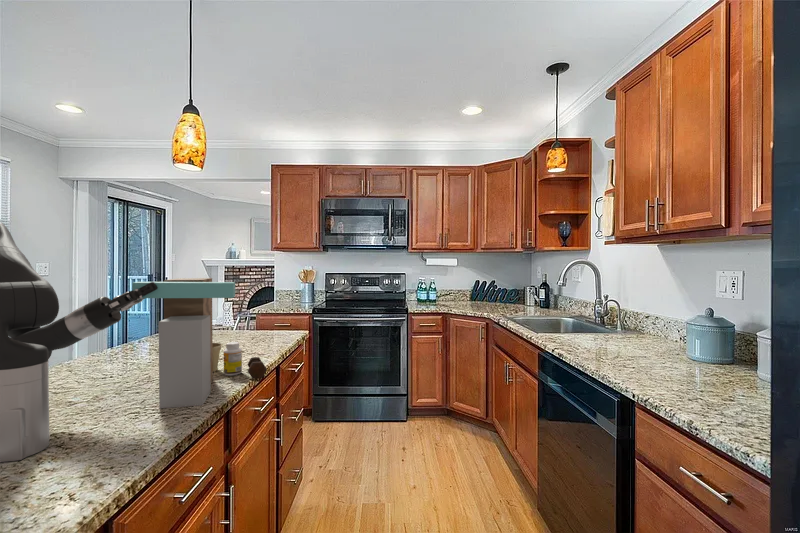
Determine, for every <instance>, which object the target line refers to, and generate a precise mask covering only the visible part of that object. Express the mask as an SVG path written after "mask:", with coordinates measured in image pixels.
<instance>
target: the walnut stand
mask: <svg viewBox="0 0 800 533" xmlns="http://www.w3.org/2000/svg"><path fill="white" fill-rule="evenodd" d="M163 282H213V278H212V277H191V278H190V277H184V278H183V277H182V278H181V277H180V278H179V277H178V278H170V279H164V280H163ZM203 315H210V371H211V383H212V381H213V376H214V374H213V373H214V372H213V347H212V343H213V298H163V318H164V319H166V318H169V317H171V316H203ZM164 319H163V320H164Z"/></svg>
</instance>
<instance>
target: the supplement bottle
mask: <svg viewBox="0 0 800 533" xmlns="http://www.w3.org/2000/svg"><path fill="white" fill-rule="evenodd" d="M225 345H226V346H225V349H224V350H223V374H224V375H225V376H231V377H233V376H238V375H240V374H241V373H242V372H243V369H242V368H243V359H242V358H243V355H242V353H243V350H242V348H241V347H240V342H238V341H231V342H226V343H225Z"/></svg>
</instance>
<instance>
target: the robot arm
mask: <svg viewBox="0 0 800 533" xmlns="http://www.w3.org/2000/svg"><path fill="white" fill-rule="evenodd" d="M150 282H151V283H149V284H147V285H145V286H143V287H141V288H139V289H135V290H134V291H133V290H129V291H126V292H124V293H122V294H121V295H117V296H115V297H113V298H112V299H111V298H109V297H107V296H101V297H100V296H99V297H98V298H96V299H95V300H92V301H90V302H89V303H86V304H84V305H83V306H80V307H78V308H76V309H74V310H73V311H71V312H70V313H69V314H67V315H64V316H62V317H60V318H58V319H57V320H56V318H57V317H58V315H59V311H60V304H59V303H60V302H59V298H58V295H57V293H56V290H55V289H54V287H53V286H52V285H51V283H50V282H49V281H48V280H46V278H44V277H43V276H41V275H40V274H39V273H37V271H36V270H35V269H34V268H33V266H32V264H31V263H30V261H29V259H28V258H27V257H26V255H25V254H24V253H23V252H22V251H21V250H20V248H19V247H18V246H17V244H16V242H15V240H14V238H13V235H12V234H11V232H10V230H9V229H8V227H7V226H6V225H5V224H4V223H3V222H1V221H0V463H3V462H15V461H16V462H17V461H21V460H24V459H26V458H27V457H29V456H33V455H35V454H37V453H39V452H42V451H44V450H46V449H47V448H48V447H49V446H50V441H51V440H50V392H49V390H50V386H49V385H50V384H49V383H50V382H49V381H50V380H49V379H50V378H49V377H50V375H49V374H50V373H49V360H50V359H51V356H52V354H53V351H56V350H61V349H65V348H68V347H71V346H72V345H75V344H76V343H78V342H80V341H81V340H84V339H86V338H89V337H91V336H93V335H95V334H98V333H99V332H102V331H104V330H105V329H107V328H109V327H111V326H113V325H115V324H117V323H119V322H120V321H121V320H122V313H121V312H124V311H128V310H130V309H132V308H133V306H135V305H137V304H140V303H142V302H143V301H144V300H146V298H142V297H143V296H145V295H147V294H149V293H151V292H153V291H155V290H157V289H158V287H157V285H156V284H155V282H162V280H157V281H150Z"/></svg>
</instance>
